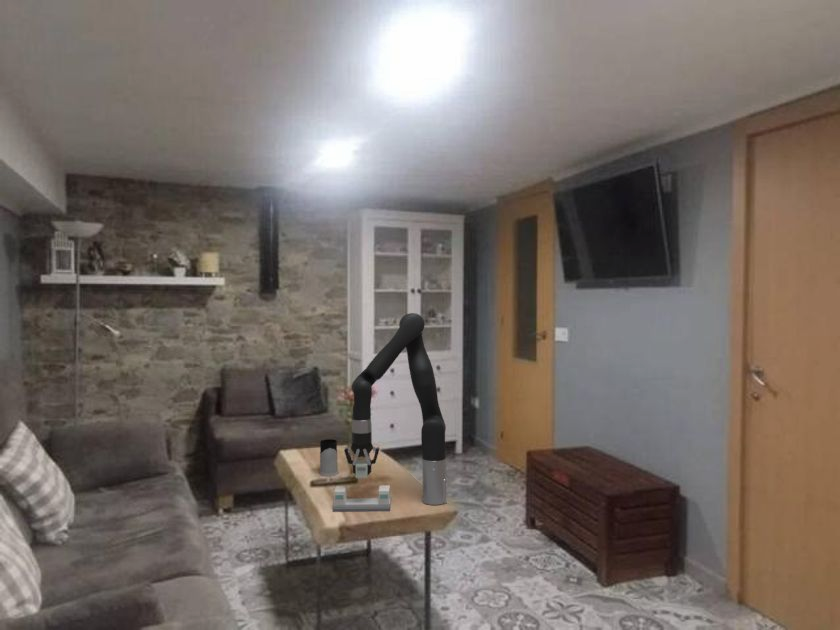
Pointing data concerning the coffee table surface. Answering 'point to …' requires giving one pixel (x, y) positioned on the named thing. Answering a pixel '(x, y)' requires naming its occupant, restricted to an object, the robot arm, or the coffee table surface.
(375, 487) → the coffee table surface
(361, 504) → the board
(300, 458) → the coffee table surface
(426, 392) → the robot arm
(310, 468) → the coffee table surface
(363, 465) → the block
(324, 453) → the glass holder
